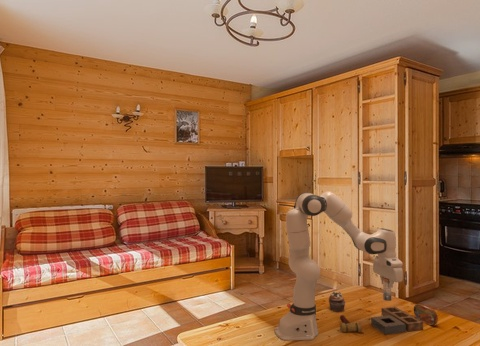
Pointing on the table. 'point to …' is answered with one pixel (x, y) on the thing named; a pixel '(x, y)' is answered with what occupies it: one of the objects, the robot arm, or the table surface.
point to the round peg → (386, 290)
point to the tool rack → (403, 318)
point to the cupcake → (336, 302)
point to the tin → (425, 314)
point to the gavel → (349, 325)
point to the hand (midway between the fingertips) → (387, 285)
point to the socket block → (388, 324)
